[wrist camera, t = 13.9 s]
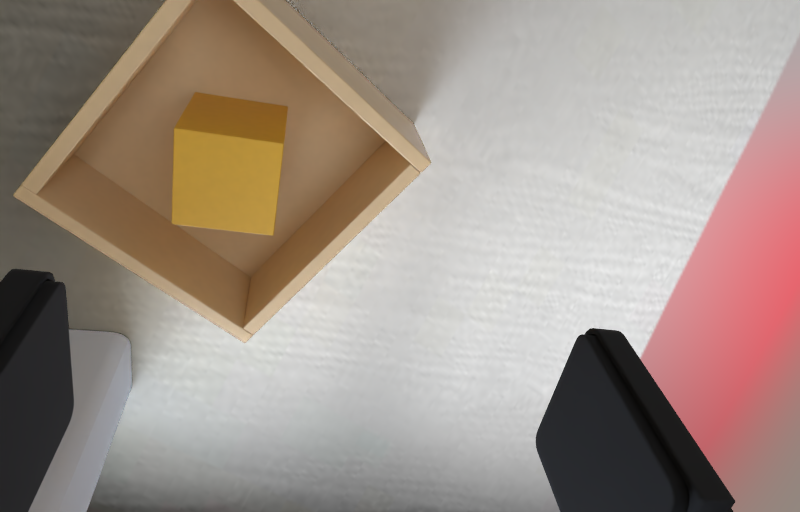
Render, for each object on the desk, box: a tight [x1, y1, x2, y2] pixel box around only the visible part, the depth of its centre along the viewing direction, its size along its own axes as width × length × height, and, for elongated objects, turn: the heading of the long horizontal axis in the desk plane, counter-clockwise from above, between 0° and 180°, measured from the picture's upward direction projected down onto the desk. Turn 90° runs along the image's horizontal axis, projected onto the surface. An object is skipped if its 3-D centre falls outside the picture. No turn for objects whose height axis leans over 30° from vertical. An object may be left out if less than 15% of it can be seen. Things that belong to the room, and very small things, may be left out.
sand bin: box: [13, 0, 431, 343], centre depth 30 cm, size 13×12×6 cm
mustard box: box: [172, 92, 288, 236], centre depth 30 cm, size 4×4×6 cm
